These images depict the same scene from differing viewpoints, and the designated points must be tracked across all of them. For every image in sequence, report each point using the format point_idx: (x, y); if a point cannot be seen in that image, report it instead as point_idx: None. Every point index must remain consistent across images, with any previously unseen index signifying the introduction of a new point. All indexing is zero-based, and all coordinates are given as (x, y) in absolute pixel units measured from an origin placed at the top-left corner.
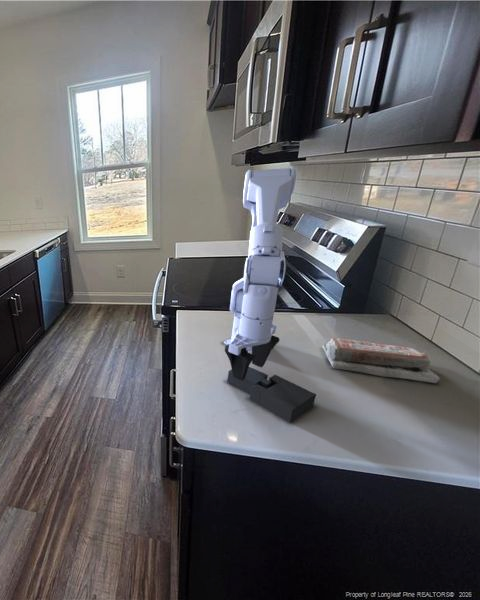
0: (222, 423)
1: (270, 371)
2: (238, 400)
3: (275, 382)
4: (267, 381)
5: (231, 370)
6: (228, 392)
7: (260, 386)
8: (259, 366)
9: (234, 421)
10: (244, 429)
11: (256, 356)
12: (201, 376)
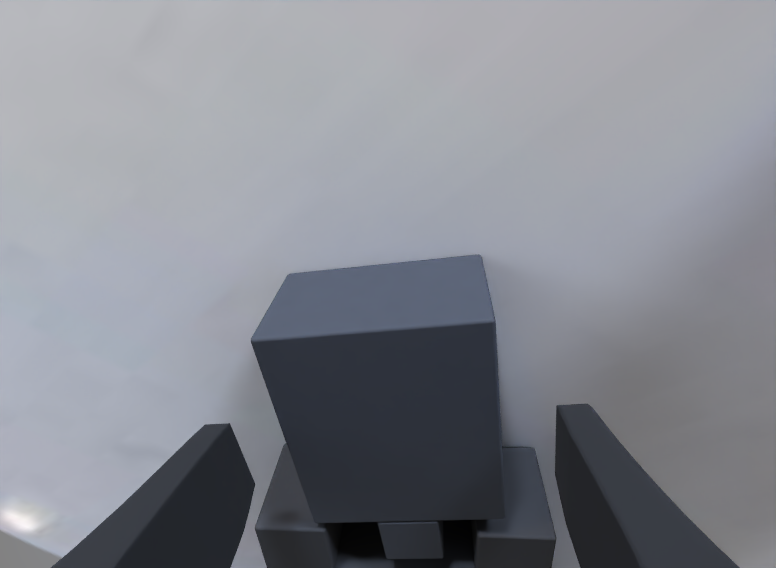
0: (18, 464)
1: (732, 356)
2: (216, 416)
3: (474, 552)
4: (416, 547)
5: (283, 349)
6: (212, 346)
7: (317, 549)
8: (557, 462)
9: (85, 482)
10: (100, 521)
11: (593, 520)
12: (132, 84)
